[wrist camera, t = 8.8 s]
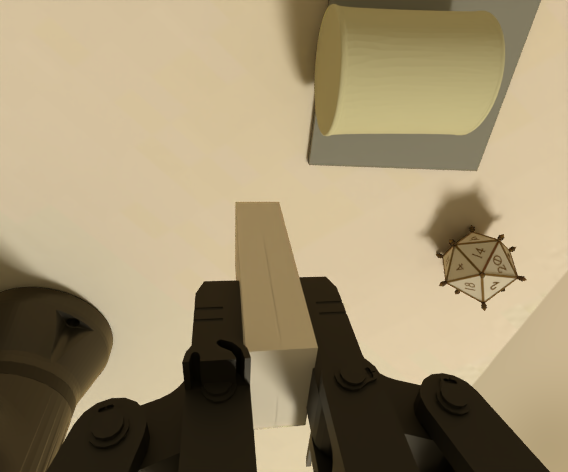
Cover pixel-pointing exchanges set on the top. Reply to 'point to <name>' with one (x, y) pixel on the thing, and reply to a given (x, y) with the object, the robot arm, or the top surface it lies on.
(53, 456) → the robot arm
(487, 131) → the mat
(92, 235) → the top surface
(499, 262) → the game die
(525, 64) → the top surface
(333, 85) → the can
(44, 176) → the top surface
